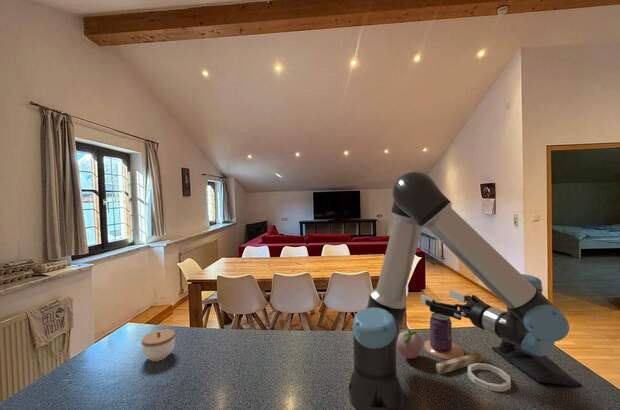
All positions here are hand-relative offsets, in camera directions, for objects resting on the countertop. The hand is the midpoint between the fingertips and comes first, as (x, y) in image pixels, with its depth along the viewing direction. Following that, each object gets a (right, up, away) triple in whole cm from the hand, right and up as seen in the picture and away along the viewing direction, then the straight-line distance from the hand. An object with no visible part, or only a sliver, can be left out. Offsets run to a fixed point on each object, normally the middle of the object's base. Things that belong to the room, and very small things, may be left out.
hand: (436, 295), depth 104 cm
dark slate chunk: (+26, -19, -13) cm, 35 cm away
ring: (+7, -19, -19) cm, 28 cm away
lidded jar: (-102, -22, -2) cm, 105 cm away
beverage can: (+1, -18, -3) cm, 19 cm away
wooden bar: (+2, -19, -13) cm, 23 cm away
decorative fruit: (-13, -20, -7) cm, 24 cm away
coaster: (+2, -19, -3) cm, 19 cm away
